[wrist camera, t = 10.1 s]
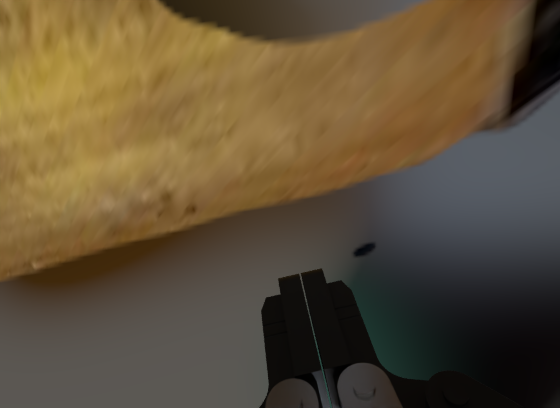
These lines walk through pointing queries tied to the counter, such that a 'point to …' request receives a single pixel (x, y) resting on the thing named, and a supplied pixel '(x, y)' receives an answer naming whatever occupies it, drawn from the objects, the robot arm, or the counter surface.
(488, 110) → the counter surface
